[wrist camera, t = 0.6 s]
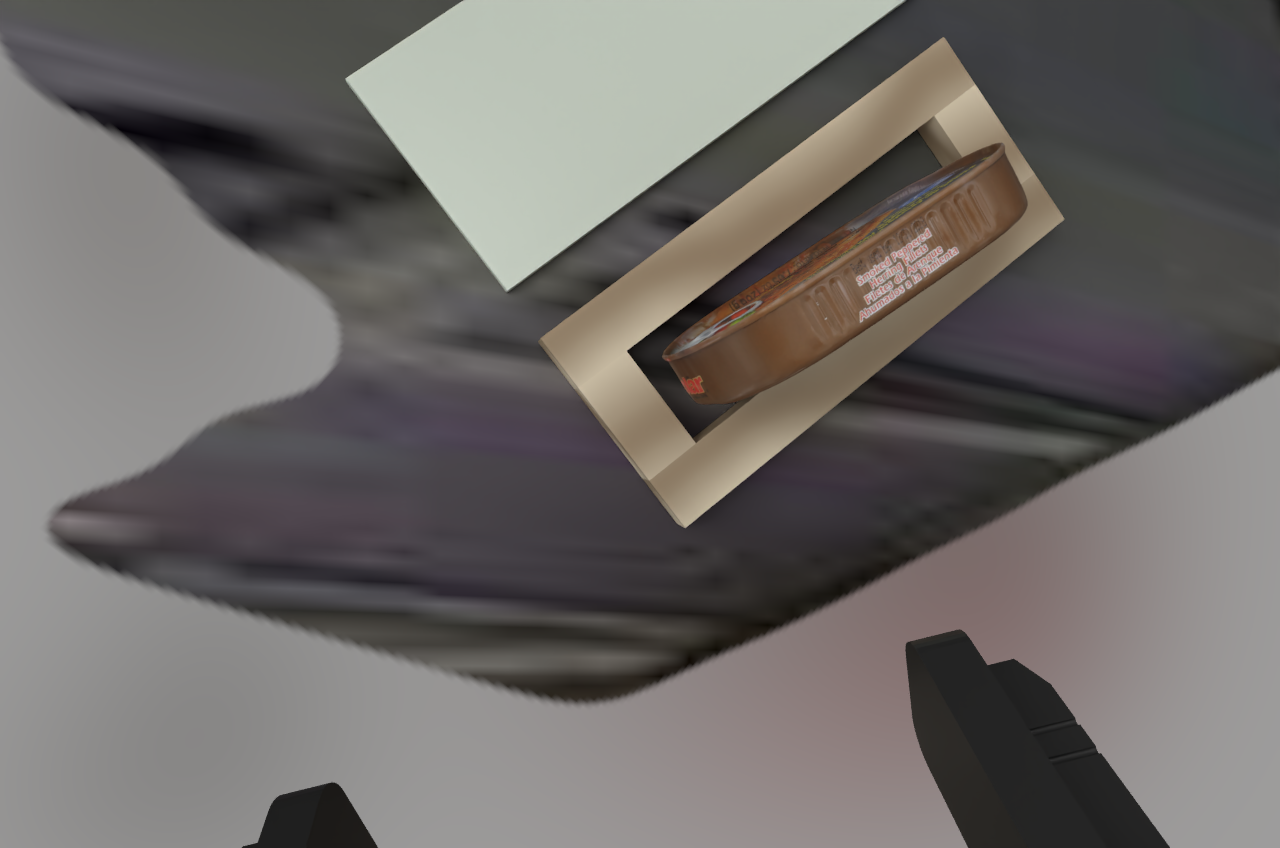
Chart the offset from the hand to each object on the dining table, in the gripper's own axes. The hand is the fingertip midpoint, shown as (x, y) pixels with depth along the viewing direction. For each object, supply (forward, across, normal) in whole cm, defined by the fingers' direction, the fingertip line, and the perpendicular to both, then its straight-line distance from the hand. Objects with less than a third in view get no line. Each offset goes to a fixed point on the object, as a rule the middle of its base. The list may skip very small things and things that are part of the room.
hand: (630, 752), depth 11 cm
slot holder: (+25, -9, +4) cm, 27 cm away
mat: (+29, -5, -7) cm, 31 cm away
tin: (+25, -9, +4) cm, 27 cm away
